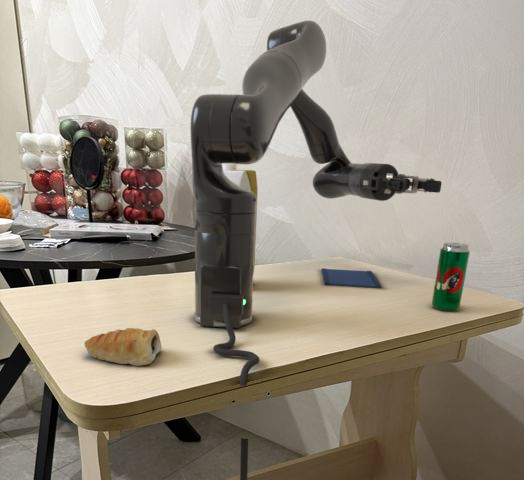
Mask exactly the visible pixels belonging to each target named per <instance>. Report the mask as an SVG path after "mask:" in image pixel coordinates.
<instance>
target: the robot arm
mask: <svg viewBox="0 0 524 480" xmlns="http://www.w3.org/2000/svg"><path fill="white" fill-rule="evenodd" d="M326 56H327V39H326V36H325V33H324V31H323V29H322V27H321V26H320V25H319V23H317V22H316V21H314V20H303V21H300V22H296V23H293V24H289V25H286V26H282V27H279V28H277V29H274V30H272V31H271V32H269V34H268V36H267V39H266V51H264V52H263V53H262V54H260V55H259V56H258V57H257V58H256V59H255V60H254V61H253V62H252V63H251V64H250V65H249V66H248V68H247V70H246V71H245V73H244V76H243V79H242V82H241V89H242V94H228V93H227V94H223V93H222V94H219V93H215V94H214V93H207V94H206V93H205V94H202V95H200V96H198V97H197V98H196V99H195V101H194V103H193V106H192V108H191V113H190V114H191V115H190V127H189V128H190V130H189V131H190V148H191V169H192V170H191V171H192V172H191V173H192V190H193V191H192V192H193V195H194V209H195V210H194V321H196V322H197V323H199V326H200V327H213V328H225V329H226V332H227V334H228V338H229V339H228V341H226V342H222V343H216V344H215V345H214V346H213V351H214V352H215V353H216V355H220V356H224V357H225V356H226V357H237V358H239V357H240V358H246V359H249V360H248V361H246V362H245V363H244V365H243V366H242V369H241V371H240V376H239V386H241V387H246V386H247V385H248V376H249V372H250V370H251V369H252V368H253V367H254V366H256V365H258V364H259V363H260V361H261V360H260V357H259V356H258V355H257V354H256V353H254V352H252V351H250V350H242V349H230V348H232V347H234V345H235V344H236V340H237V338H236V333H235V330H234V329H240V328H241V327H242V326H246V325H248V324H250V323H251V322H252V321H253V293H254V275H253V268H254V242H255V219H256V196H255V194H254V193H253V192H251V191H249V190H247V189H245V188H243V187H240V186H239V185H237V184H235V183H234V182H232V181H231V180H230V179H229V178H228V177H227V176H226V175H225V174H224V172H223V163H225V164H236V165H253V164H256V163H258V162H259V161H260V160H261V159H262V158H263V157H264V156H265V154H266V153H267V151H268V149H269V147H270V144H271V142H272V140H273V139H274V138H273V137H274V135H275V133H276V131H277V129H278V127H279V124H280V122H281V121H282V119H283V118H284V116H285V114H286V112H287V111H288V110H289V108H291V110H292V112H293V114H294V117H295V118H296V120H297V122H298V125H299V127H300V128H301V132H302V135H303V137H304V140H305V142H306V145H307V148H308V151H309V154H310V157H311V159H312V160H313V162H314V163H316V164H319V165H323V164H324V166H323V167H321V168H320V169H318V171H317V172H315V174H314V175H313V178H312V187H313V190H314V191H315V192H316V194H317V195H319V196H320V197H321V198H325V199H338V198H342V197H343V198H344V197H347V196H355V197H359V198H361V199H366V200H373V201H379V202H384V201H388V200H390V199H392V198H393V197H394V195H396V194H397V195H398V194H399V195H401V194H417V193H418V192H423V193H436V194H437V193H438V194H439V193H440V192H441V191H442V189H441V188H442V181H441V180H436V179H434V178H432V177H431V178H423V177H419V175H407V174H406V173H399V171H398V170H397V168H396V167H395V166H394V165H392V164H390V163H376V162H366V163H354V162H353V163H352V161H350V159H349V158H348V156H347V154H346V153H345V151H344V150H343V148H342V146H341V144H340V141H339V138H338V135H337V130H336V127H335V124H334V121H333V120H332V117H331V116H330V115H329V114H328V112H327V111H326V110H325V109H324V108H323V107H322V106H321V105H319V103H317V101H314V99H313V98H311V96H309V95H308V93H307V92H306V91H305V90H304V89H303V88H304V87H305V85H306V84H307V83H308V81H309V80H310V79H311V78H312V77H314V76H315V75H316V74H318V73H319V72H320V71H321V70H322V69H323V66H324V65H325V62H326V58H327V57H326ZM411 179H412V181H411ZM410 187H411V188H410ZM409 189H410V190H409ZM254 269H255V268H254ZM248 464H249V438H242V437H241V438H240V464H239V465H240V466H239V467H240V469H239V470H240V472H239V480H248V471H249V467H248V466H249V465H248Z"/></svg>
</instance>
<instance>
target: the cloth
mask: <svg viewBox="0 0 524 480" xmlns="http://www.w3.org/2000/svg"><path fill="white" fill-rule="evenodd" d="M321 273H322V278H323V283H324V286H335V287H336V286H339V287H353V288H354V287H355V288H370V289H371V288H372V289H381V288H382V285H381V284H380V282H379V281H378V280H377V279H378V278H377V277H376V276H375V275H374V273H373V271H372V270H352V269H351V270H349V269H337V268H336V269H333V268H324V267H322V268H321Z"/></svg>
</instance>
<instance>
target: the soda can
mask: <svg viewBox="0 0 524 480" xmlns="http://www.w3.org/2000/svg"><path fill="white" fill-rule="evenodd" d="M469 248H470V247H469V245H468V244H466V243H461V242H443V245H442V247H441V248H440V250H439V254H438V255H439V257H438V261H437V262H438V263H437V268H436V273H435V275H436V276H435V279H434V280H435V281H434V286H433V293H432V299H431V305H432V307H433V308H434V309H436V310H439V311H443V312H455V311H458V310H459V308H460V307H461V302H462V297H463V292H464V286H465V280H466V275H467V270H468V263H469V257H470V253H471V252H470V249H469Z"/></svg>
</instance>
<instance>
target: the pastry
mask: <svg viewBox="0 0 524 480" xmlns="http://www.w3.org/2000/svg"><path fill="white" fill-rule="evenodd" d="M84 347H85V349H86V351H87V353H88V355H89V356H91V357H93V358H94V359H98V360H99V361H102V360H103V361H106V362H110V363H115V364H121V365H127V364H129V365H131V366H138V367H139V366H146V365H150V364H152V362H154V361H155V360H156V359H155V358H156V356H157V354H158V353H159V352H160V351H161V349H162V343H161V337H160V335H159V331H157V329H154V328H152V329H151V330H149V329H143V328H135V327H134V328H133V327H127V328H125V329H115V330H112V331H111V330H110V331H108V332H106V333H100V334H97V335H94V336H92V337H90V338H89V339H87V340H86V341H84Z"/></svg>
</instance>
